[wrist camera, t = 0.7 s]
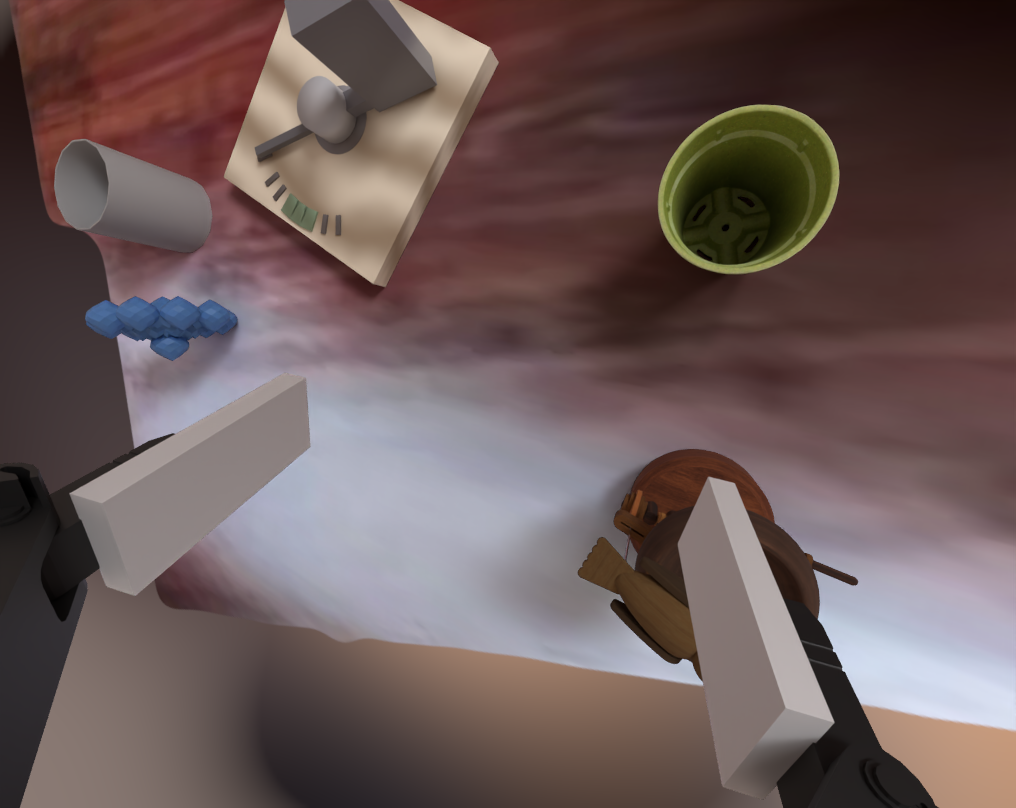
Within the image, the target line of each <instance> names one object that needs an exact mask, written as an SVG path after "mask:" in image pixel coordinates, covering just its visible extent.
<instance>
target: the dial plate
mask: <svg viewBox="0 0 1016 808" xmlns="http://www.w3.org/2000/svg"><path fill="white" fill-rule="evenodd" d="M389 1H390V3H391V4H392V5H393V6H394V8H395V9H396V10H397V12H398V13H399V14H400V16H401V17H402V18H403V20H404V21H405V22H406V24H407V25H408V26H409V27H410V29H411V30H412V31H413V33H414V34H415V35H416V37H417V38H418V39H419V41H420V42H421V43H422V45H423V46H424V47H425V48H426V50H427V51H428V52H429V54H430V55H431V56H432V61H433V66H434V71H435V76H436V81H437V85H436V86H434V87H432V88H430V89H428V90H426V91H423V92H421V93H419V94H417V95H415V96H413V97H411V98H409V99H407V100H404V101H402V102H400V103H398V104H396V105H394V106H392V107H390V108H388V109H386V110H383V111H381V112H378V111H377V110H376V109H375V108H374V109H371V110H369V111H367V112H365V113H363V114H361V115H359V116H357V117H356V124H355V127H354V129H353V131H352V133H351V135H350V136H349V137H348V138H347V139H346V140H344V141H343V142H341V143H336V144H334V143H330V142H328V141H326V140H325V139H323V138H321V137H320V136H318V135H317V134H315V133H312V134H310V135H308V136H306V137H304V138H302V139H300V140H298V141H295V142H293V143H291V144H289V145H287V146H285V147H283V148H281V149H279V150H277V151H275V152H273V153H271V154H269V155H267V156H265V157H263V158H260V157H258V156H256V152H255V147H256V146H258V145H260V144H262V143H264V142H266V141H268V140H270V139H272V138H274V137H276V136H278V135H280V134H282V133H284V132H286V131H288V130H290V129H292V128H294V127H296V126H298V125H300V124H302V123H301V121H300V119H299V117H298V113H297V99H298V95H299V92H300V90H301V88H302V86H303V85H304V84H305V83H306V82H307V81H308V80H309V79H311V78H313V77H315V76H323V77H326V78H327V79H329V80H330V81H331V82H332V83H334V84H335V85H336V86H337V87H338V88H339V89H341V90H342V91H343V92H344V91H346V90H348V89H350V88H351V87H349V86H348V85H347V84H346V83H345V82H344V81H343V80H341V79H340V78H339V77H338V76H337V75H336V74H334V73H333V72H332V71H331V70H330V69H329V68H328V67H326V66H325V65H324V64H323V63H322V62H321V61H320V60H318V59H317V58H316V57H315V56H314V55H313V54H311V53H310V52H309V51H308V50H307V49H306V48H305V47H303V46H302V45H301V44H300V43H299V42H298V41H297V40H295V39H294V38H293V37H292V36H291V31H290V26H289V21H288V16H287V11H286V8H285V10H284V13H283V16H282V19H281V21H280V24H279V27H278V30H277V32H276V35H275V38H274V41H273V43H272V46H271V49H270V51H269V54H268V57H267V60H266V62H265V65H264V68H263V71H262V73H261V76H260V79H259V82H258V84H257V87H256V90H255V93H254V95H253V98H252V101H251V103H250V106H249V109H248V112H247V114H246V117H245V120H244V123H243V125H242V128H241V131H240V134H239V136H238V139H237V142H236V145H235V147H234V150H233V153H232V155H231V158H230V161H229V164H228V166H227V169H226V172H225V175H224V178H226V179H227V180H229V181H230V182H231V183H233V184H234V185H236V186H237V187H238V188H240V189H241V190H243V191H244V192H245V193H247V194H248V195H250V196H251V197H252V198H254V199H255V200H257V201H258V202H259V203H261V204H262V205H263V206H265V207H266V208H268V209H269V210H270V211H272V212H273V213H275V214H276V215H277V216H279V217H280V218H282V219H283V220H284V221H286V222H287V223H289V224H290V225H291V226H293V227H294V228H296V229H297V230H298V231H300V232H301V233H303V234H304V235H305V236H307V237H308V238H310V239H311V240H312V241H314V242H315V243H317V244H318V245H319V246H321V247H322V248H324V249H325V250H326V251H328V252H329V253H331V254H332V255H333V256H335V257H336V258H338V259H339V260H340V261H342V262H343V263H345V264H346V265H347V266H349V267H350V268H352V269H353V270H354V271H356V272H357V273H359V274H360V275H361V276H363V277H364V278H366V279H367V280H368V281H370V282H371V283H373V284H375V285H379V286H383V287H386V285H387V283H388V281H389V279H390V277H391V275H392V273H393V271H394V269H395V267H396V265H397V263H398V261H399V259H400V257H401V255H402V253H403V251H404V249H405V247H406V245H407V243H408V241H409V240H410V238H411V236H412V234H413V232H414V230H415V228H416V226H417V224H418V222H419V220H420V218H421V216H422V214H423V212H424V210H425V208H426V206H427V204H428V202H429V200H430V198H431V196H432V194H433V192H434V190H435V188H436V186H437V184H438V182H439V180H440V178H441V176H442V174H443V172H444V170H445V168H446V166H447V164H448V162H449V160H450V158H451V156H452V154H453V152H454V150H455V148H456V146H457V144H458V142H459V140H460V138H461V136H462V134H463V133H464V131H465V129H466V127H467V125H468V123H469V121H470V119H471V117H472V115H473V113H474V111H475V109H476V107H477V105H478V103H479V101H480V99H481V97H482V95H483V93H484V91H485V89H486V87H487V85H488V83H489V81H490V79H491V77H492V75H493V73H494V71H495V69H496V67H497V65H498V61H497V59H496V57H495V56H494V54H493V52H492V50H491V48H490V47H488V46H486V45H484V44H482V43H480V42H478V41H476V40H474V39H472V38H470V37H468V36H466V35H465V34H463V33H461V32H459V31H457V30H455V29H453V28H451V27H449V26H447V25H445V24H443V23H441V22H439V21H437V20H435V19H434V18H432V17H430V16H428V15H426V14H424V13H422V12H420V11H418V10H416V9H414V8H412V7H410V6H408V5H406V4H404V3H403V2H401V1H399V0H389Z"/></svg>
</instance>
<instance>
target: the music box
mask: <svg viewBox="0 0 1016 808" xmlns="http://www.w3.org/2000/svg"><path fill="white" fill-rule="evenodd" d="M708 477H712V478H716V479H720V480H724V481H728V482H732V483H735V485H736V488H737V490H738V492H739V495H740V497H741V500H742V502H743V504H744V507H745V509H746V512H747V514H748V516H749V519H750V521H751V524H752V526H753V528H754V531H755V533H756V536H757V538H758V540H759V543H760V545H761V548H762V550H763V552H764V555H765V557H766V559H767V562H768V564H769V567H770V569H771V571H772V574H773V576H774V579H775V581H776V583H777V586H778V588H779V591H780V593H781V595H782V598H785V599H789V600H793V601H796V602H800V603H804V604H805V606H806V607H807V608H808V609H809V610H810V611H811V613H812V614H813V615H814V616H815V617H816V618H817V619H818V614H819V606H820V599H819V589H818V584H817V580H816V577H815V574H814V571H813V569H814V570H817V571H819V572H821V573H824V574H826V575H829V576H831V577H833V578H836V579H838V580H841V581H843V582H845V583H848V584H850V585H857V584H858V580H857V579H856V578H855V577H853V576H850V575H848V574H845V573H843V572H840V571H838V570H836V569H833V568H831V567H828V566H826V565H823V564H821V563H819V562H816V561H814V560H813V557H812V555H810V554H807V553H804V552H803V551H802V549H801V548H800V547H799V545H798V544H797V543H796V542H795V541H794V540H793V539H792V538H791V537H790V536H789V535H788V534H787V533H786V532H785V531H784V530H783V529H781V528H780V527H779V526H778V525H776V524H775V522H774V516H773V512H772V509H771V506H770V504H769V502H768V500H767V498H766V496H765V494H764V493H763V491H762V490H761V489H760V487H759V486H758V485H757V483H756V482H755V481H754V479H753V478H752V477H751V476H750V475H749V473H748V472H747V471H746V470H745V469H743V468H742V467H741V466H740V465H739V464H737V463H736V462H734V461H733V460H731V459H729V458H727V457H725V456H723V455H720V454H718V453H715V452H711V451H706V450H699V449H685V450H678V451H674V452H670V453H667V454H665V455H663V456H661V457H659V458H657V459H655V460H654V461H652V462H651V463H650V464H649V465H647V466H646V467H645V468H644V469H643V470H642V472H641V473H640V474H639V476H638V477H637V479H636V480H635V482H634V485H633V487H632V490H631V493H630V495H629V494H626V496H625V499H624V501H623V502H622V505H621V509H620V510H619V511H617V512H616V514H615V518H614V525H615V527H616V528H617V529H619V530H621V531H622V532H624V533H625V534H627V535H628V540H627V545H626V551H625V556H624V559H623V558H622V556H621V555H620V554H619V553H618V552H617V551H616V550H615V549H614V548H613V546H612V545H611V544H610V543H609V542H608V541H607V540H606V539H605V538H603V537H600V538H599V539H598V540H597V545H595V546H594V547H593V548H592V552H591V553H589V554H588V556H587V560H585V561H584V562H583V565H582V566H583V567H581V568H580V569H579V570H578V575H579V576H580V577H581V578H583V579H585V580H588V581H590V582H592V583H594V584H596V585H599V586H601V587H603V588H605V589H607V590H610V591H612V592H614V593H616V594H620V596H621V598H622V599H623V601H624V603H625V604H624V603H622V602H621V601H619V600H617V599H614V600H613V601H612V603H611V604H610V607H611V609H612V610H613V611H614V612H615V613H616V614H617V615H618V617H619V618H620V619H621V620H622V621H623V622H624V623H625V624H626V625H627V626H628V627H629V628H630V629H631V630H632V631H633V632H634V633H635V634H636V635H637V636H638V637H639V638H640V639H641V640H642V641H644V642H645V643H646V644H647V645H648V646H649V647H650V648H651V649H652V650H653V651H655V652H656V653H657V654H658V655H659V656H660V657H661V658H663V659H664V660H666V661H667V662H669V663H672V664H678V663H679V662H680V661H681V660H682V659H687V660H689V661H691V662H692V663H693V667H694V669H695V671H696V673H697V675H698V677H699V678H700V679H701V680H702V682H703V679H702V674H701V668H700V663H699V658H698V652H697V647H696V641H695V636H694V630H693V625H692V620H691V614H690V609H689V603H688V598H687V593H686V587H685V582H684V576H683V571H682V565H681V560H680V555H679V549H678V542H679V540H680V537H681V535H682V533H683V531H684V529H685V526H686V524H687V522H688V520H689V518H690V516H691V513H692V511H693V509H694V507H695V505H696V502H697V500H698V498H699V496H700V494H701V491H702V489H703V487H704V485H705V483H706V480H707V478H708ZM630 539H631V542H632V544H633V546H634V548H635V550H636V552H637V553H638V556H637V559H636V565H635V570H633V569H632V568H631V567H630V565H629V564H628V563H627V562H626V559H627V553H628V547H629V541H630Z"/></svg>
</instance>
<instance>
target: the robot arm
mask: <svg viewBox="0 0 1016 808" xmlns="http://www.w3.org/2000/svg"><path fill="white" fill-rule="evenodd" d="M309 447H310V433H309V418H308V403H307V388H306V378H304V377H300V376H296V375H292V374H288V373H284V374H282V375H280V376H278V377H277V378H275V379H273V380H271V381H269V382H268V383H266V384H264V385H262V386H260V387H259V388H257V389H255V390H253V391H252V392H250V393H248V394H246V395H244V396H243V397H241V398H239V399H237V400H235V401H234V402H232V403H230V404H228V405H227V406H225V407H223V408H221V409H219V410H218V411H216V412H214V413H212V414H210V415H209V416H207V417H205V418H203V419H202V420H200V421H198V422H196V423H194V424H193V425H191V426H189V427H187V428H185V429H184V430H182V431H180V432H178V433H177V434H174V433H172V434H169V435H166V436H163V437H160V438H157V439H153V440H150V441H148V442H146V443H144V444H142V445H141V446H139V447H137V448H135V449H133V450H131V451H130V452H129V454H124V455H122V456H120V457H119V458H117V459H115V460H113V463H108V464H106V465H104V466H102V467H100V468H98V469H96V470H95V471H93V472H91V473H89V474H87V475H85V476H84V477H82V478H80V479H78V480H76V481H74V482H73V483H71V484H69V485H67V486H65V487H63V488H62V489H60V490H58V491H56V492H54V493H52V494H50V495H49V492H48V490H47V488H46V485H45V484H44V481H43V478H42V476H41V474H40V471H39V470H38V469H37V468H36V467H35V466H34V465H30V464H25V463H4V464H0V808H20V805H21V802H22V799H23V795H24V792H25V789H26V786H27V783H28V779H29V776H30V773H31V770H32V766H33V763H34V760H35V757H36V753H37V751H38V747H39V744H40V741H41V738H42V735H43V732H44V728H45V725H46V722H47V719H48V716H49V712H50V709H51V706H52V702H53V699H54V696H55V693H56V690H57V686H58V683H59V680H60V677H61V674H62V671H63V668H64V664H65V661H66V658H67V655H68V652H69V648H70V645H71V642H72V639H73V636H74V632H75V629H76V626H77V623H78V619H79V616H80V613H81V610H82V607H83V604H84V601H85V597H86V594H87V582H86V580H85V579H86V578H87V577H88V576H90V575H91V574H92V573H93V572H95V571H96V570H98V569H100V572H101V574H102V577H103V580H104V582H105V585H106V587H109V588H112V589H115V590H118V591H121V592H125V593H128V594H131V595H134V596H136V595H137V594H138V593H139V592H140V591H142V590H143V589H144V588H145V587H146V586H147V585H149V583H151V582H152V581H153V580H154V579H156V578H157V577H158V576H159V575H160V574H162V573H163V572H164V571H165V570H166V569H167V568H169V567H170V566H171V565H172V564H173V563H174V562H176V561H177V560H178V559H179V558H180V557H181V556H183V555H184V554H185V553H186V552H187V551H189V550H190V549H191V548H192V547H193V546H194V545H196V544H197V543H198V542H199V541H200V540H201V539H203V538H204V537H205V536H206V535H207V534H208V533H210V532H211V531H212V530H213V529H214V528H216V527H217V526H218V525H219V524H220V523H221V522H223V521H224V520H225V519H226V518H227V517H228V516H230V515H231V514H232V513H233V512H234V511H235V510H237V509H238V508H239V507H240V506H241V505H243V504H244V503H245V502H246V501H247V500H248V499H250V498H251V497H252V496H253V495H254V494H255V493H257V492H258V491H259V490H260V489H261V488H262V487H264V486H265V485H266V484H267V483H268V482H269V481H271V480H272V479H273V478H274V477H275V476H277V475H278V474H279V473H280V472H281V471H282V470H284V469H285V468H286V467H287V466H288V465H289V464H291V463H292V462H293V461H294V460H295V459H296V458H298V457H299V456H300V455H301V454H302V453H304V452H305V451H306V450H307V449H308V448H309ZM678 549H679V555H680V560H681V565H682V571H683V576H684V582H685V587H686V593H687V598H688V603H689V609H690V614H691V620H692V625H693V630H694V636H695V641H696V647H697V652H698V658H699V663H700V668H701V674H702V679H703V685H704V690H705V695H706V701H707V706H708V712H709V717H710V722H711V728H712V733H713V738H714V744H715V750H716V755H717V761H718V766H719V771H720V777H721V782H722V787H725V788H728V789H731V790H734V791H737V792H740V793H743V794H746V795H749V796H753V797H756V798H759V799H762V800H764V798H765V797H766V796H767V795H768V794H769V793H770V792H771V791H772V790H773V789H774V788H775V787H776V786H778V790H779V794H780V797H781V801H782V804H783V808H938V807H937V806H935V804H934V802H933V799H932V798H931V796H930V795H929V794H928V792H927V791H926V789H925V788H924V787H923V785H922V784H921V783H920V781H919V780H918V779H917V778H916V777H915V776H914V775H913V774H912V773H911V772H910V771H909V770H908V769H907V768H906V767H905V766H904V765H903V764H902V763H901V762H900V761H898V760H897V759H895V758H894V757H893V756H891V755H890V754H888V753H887V752H885V751H884V750H883V749H882V748H881V746H880V744H879V742H878V740H877V738H876V736H875V734H874V731H873V729H872V727H871V725H870V723H869V721H868V719H867V717H866V715H865V713H864V711H863V709H862V707H861V704H860V702H859V700H858V698H857V696H856V694H855V692H854V690H853V688H852V686H851V684H850V682H849V680H848V678H847V675H846V673H845V672H843V671H842V665H841V663H840V661H839V659H838V657H837V655H836V653H835V652H833V646H832V644H831V642H830V640H829V638H828V636H827V634H826V632H825V630H824V628H823V626H822V624H821V623H820V622H819V621H818V620H817V618H816V617H815V616H814V615H813V614H812V613H811V611H810V610H809V609H808V608H807V607H806V606H805V604H804V603H800V602H796V601H793V600H789V599H785V598H782V595H781V593H780V591H779V588H778V586H777V583H776V581H775V579H774V576H773V574H772V571H771V569H770V567H769V564H768V562H767V559H766V557H765V555H764V552H763V550H762V548H761V545H760V543H759V540H758V538H757V536H756V533H755V531H754V528H753V526H752V524H751V521H750V519H749V516H748V514H747V512H746V509H745V507H744V504H743V502H742V500H741V497H740V495H739V492H738V490H737V488H736V485H735V483H732V482H728V481H724V480H720V479H716V478H712V477H708V478H707V480H706V483H705V485H704V487H703V489H702V491H701V494H700V496H699V498H698V500H697V502H696V505H695V507H694V509H693V511H692V513H691V516H690V518H689V520H688V522H687V524H686V526H685V529H684V531H683V533H682V535H681V537H680V540H679V542H678Z"/></svg>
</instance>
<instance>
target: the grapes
mask: <svg viewBox="0 0 1016 808" xmlns="http://www.w3.org/2000/svg"><path fill="white" fill-rule="evenodd" d="M85 320H86V321H87V323H86V325H88V326H89V327H90V328H91V329H92V330H94V331H95V332H97V333H99V334H101V335H103V336H105V337H108V338H110V339H112V338H114V337H116V336H118V335H119V334H121V333H122V334H123V335H125V336H127V337H129V338H132V339H134V340H136V341H138V340H142V341H144V340H145V339H146V338H147V339H149V340H151V344H150V348H151V349H152V350H153V351H154V352H156V353H157V354H159V355H161V356H163V357H165V358H167V359H169V360H172V361H173V360H175V359H176V358H178V357H179V356H181V355H182V354H183V353H184V352H186V351H187V350H188V347H189V342H188V341H187V340H189V339H191V338H192V337H193V338H195V339H196V338H197V337H198V336H199V335H201V336H203V337H205V338H207V337H209V336H211V335H212V334H213V333H215V332H217V333H220V334H222V335H223V334H224V333H226V332H227V331H229V330H230V329H231V328H232V327H234V326H235V325H236V323H237V317H236V316H235V314H234V313H232V312H230V311H229V310H227V309H226V308H224V307H222V306H221V305H219V304H218V303H216V302H214V301H212V300H208V301H206V302H205V303H203V304H202V305H200V306H199V307H196V306H195V305H193V304H192V303H190V302H188V301H187V300H185V299H183V298H181V297H179V296H177V297H175V298H174V299H172V300H169V299H167V298H165V297H163V296H162V297H160V298H159V299H157V300H155V301H153V302H152V303H151V304H150V303H148V302H146V301H144V300H142V299H140V298H138V297H136V296H135V297H133V298H131V299H129V300H127V301H126V302H124V303H122V304H121V305H120V306H117V305H115V304H113V303H111V302H109V301H107V300H105V301H103V302H101V303H99V304H97V305H95V306H94V307H92V308H91V309H90V310H88V311H87V313H86V317H85Z"/></svg>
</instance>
